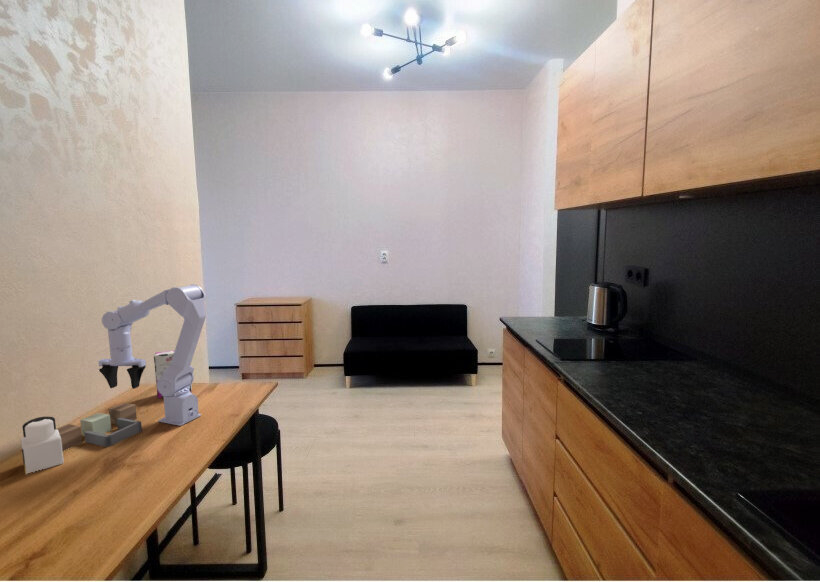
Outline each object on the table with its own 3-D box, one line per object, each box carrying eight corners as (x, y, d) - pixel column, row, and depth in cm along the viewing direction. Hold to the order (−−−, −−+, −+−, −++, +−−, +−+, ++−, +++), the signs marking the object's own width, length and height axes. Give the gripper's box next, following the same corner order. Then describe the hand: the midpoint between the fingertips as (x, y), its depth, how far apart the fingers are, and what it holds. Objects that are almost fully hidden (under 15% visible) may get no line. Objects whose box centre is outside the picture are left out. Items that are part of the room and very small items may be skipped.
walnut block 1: (82, 443, 111) (80, 426, 110) (62, 451, 106) (60, 434, 106) (70, 440, 112) (68, 424, 112) (50, 448, 108) (48, 431, 107)
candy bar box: (192, 388, 152) (189, 348, 150) (191, 393, 148) (188, 351, 146) (158, 393, 147) (155, 351, 145) (156, 398, 143) (153, 355, 141)
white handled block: (23, 464, 100) (18, 420, 99) (60, 453, 105) (55, 411, 104) (25, 475, 95) (19, 429, 94) (64, 463, 100) (59, 419, 99)
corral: (142, 431, 118) (141, 421, 117) (107, 447, 108) (106, 437, 108) (120, 426, 121) (119, 417, 120) (85, 442, 111) (84, 432, 111)
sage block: (111, 430, 118) (109, 414, 118) (93, 438, 114) (92, 422, 113) (99, 428, 120) (98, 412, 119) (81, 435, 115) (80, 419, 115)
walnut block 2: (136, 419, 126) (135, 404, 125) (121, 426, 121) (119, 410, 121) (125, 417, 127) (124, 402, 127) (110, 423, 123) (108, 408, 122)
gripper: (151, 344, 129) (154, 383, 131) (109, 343, 130) (113, 382, 132) (134, 349, 122) (138, 391, 124) (91, 349, 123) (95, 390, 125)
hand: (124, 387), depth 127 cm, fingers open, 7 cm apart
